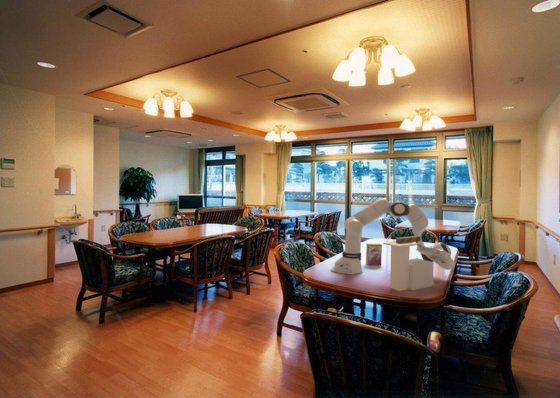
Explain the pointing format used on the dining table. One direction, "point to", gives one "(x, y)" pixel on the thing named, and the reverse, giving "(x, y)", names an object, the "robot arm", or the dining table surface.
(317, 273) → the dining table surface
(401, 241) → the walnut bar
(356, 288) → the dining table surface
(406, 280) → the stepped stand
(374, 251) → the candy bar box
